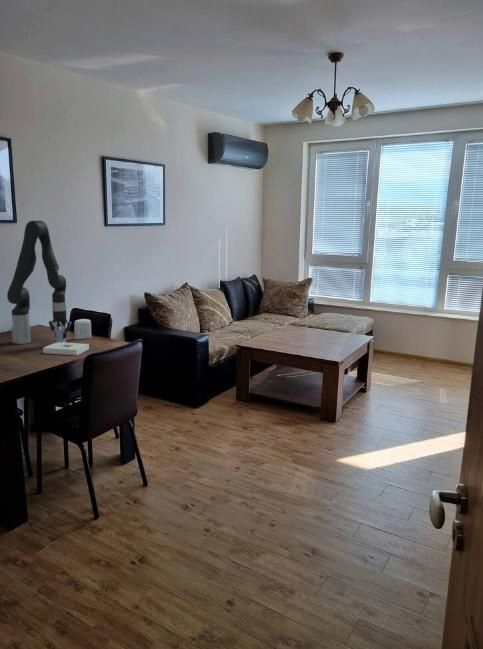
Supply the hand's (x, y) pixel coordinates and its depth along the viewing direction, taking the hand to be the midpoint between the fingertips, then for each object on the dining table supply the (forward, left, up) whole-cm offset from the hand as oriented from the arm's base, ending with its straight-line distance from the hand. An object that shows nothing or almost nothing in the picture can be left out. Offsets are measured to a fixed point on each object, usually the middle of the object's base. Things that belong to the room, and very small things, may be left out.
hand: (61, 338), depth 282 cm
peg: (0, 0, -4) cm, 4 cm away
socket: (+10, -12, -4) cm, 16 cm away
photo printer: (+4, +19, -5) cm, 20 cm away
